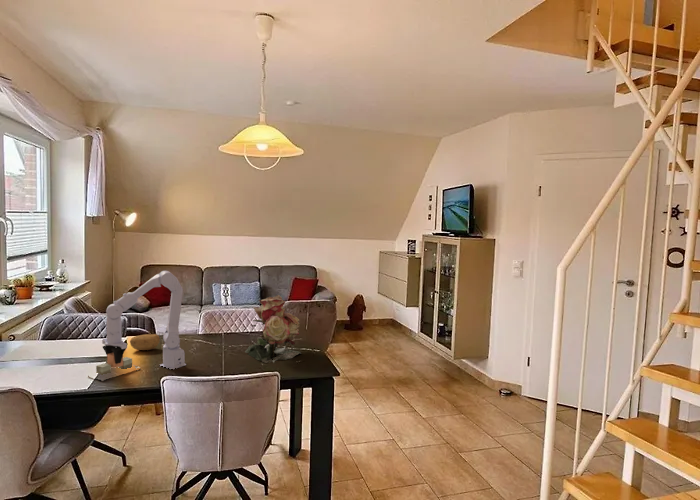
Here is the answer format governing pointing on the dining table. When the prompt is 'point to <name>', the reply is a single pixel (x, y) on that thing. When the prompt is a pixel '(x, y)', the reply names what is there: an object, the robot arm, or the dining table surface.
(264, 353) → the rose bouquet
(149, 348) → the potato
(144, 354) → the dining table surface
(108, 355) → the terracotta block
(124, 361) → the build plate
